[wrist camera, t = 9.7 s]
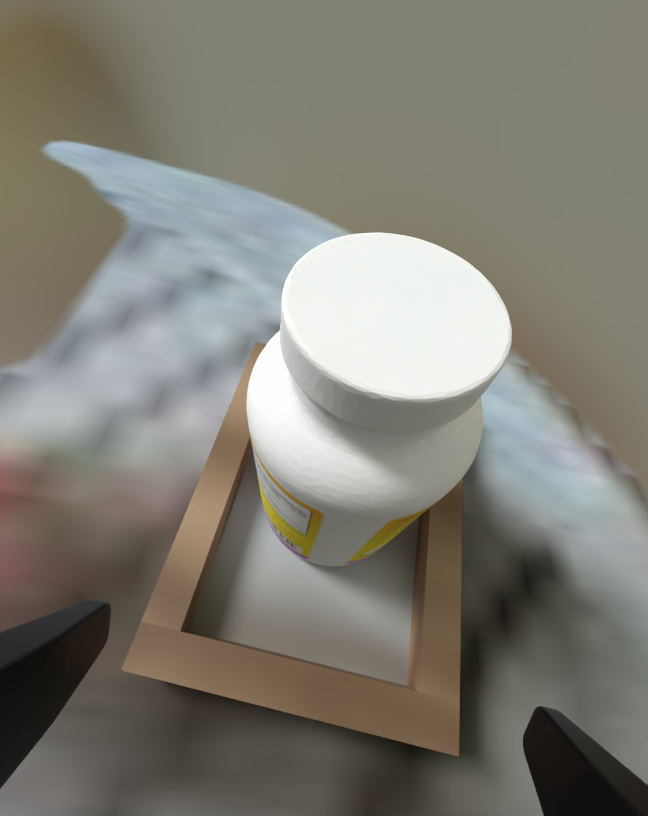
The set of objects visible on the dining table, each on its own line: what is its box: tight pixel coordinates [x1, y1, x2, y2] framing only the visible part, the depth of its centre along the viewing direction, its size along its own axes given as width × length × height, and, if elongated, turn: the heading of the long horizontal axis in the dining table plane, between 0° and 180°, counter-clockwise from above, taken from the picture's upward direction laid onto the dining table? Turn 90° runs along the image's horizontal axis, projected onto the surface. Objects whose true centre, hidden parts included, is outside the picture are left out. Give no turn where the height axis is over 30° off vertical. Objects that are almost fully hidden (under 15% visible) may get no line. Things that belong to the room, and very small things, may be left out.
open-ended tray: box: [121, 342, 463, 757], centre depth 17 cm, size 16×12×2 cm
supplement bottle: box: [246, 233, 512, 566], centre depth 13 cm, size 7×7×13 cm
